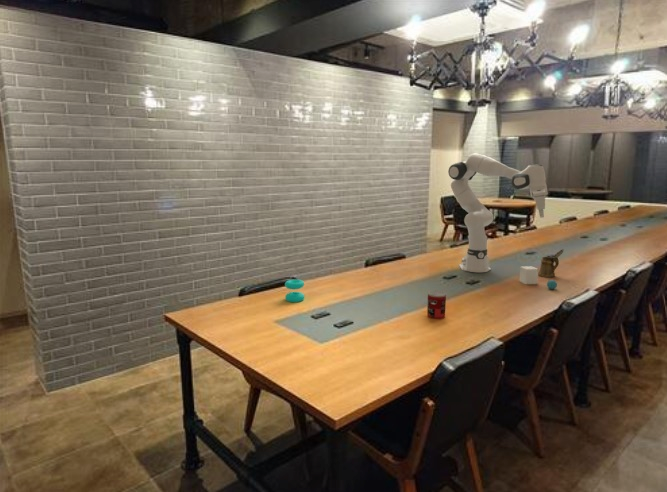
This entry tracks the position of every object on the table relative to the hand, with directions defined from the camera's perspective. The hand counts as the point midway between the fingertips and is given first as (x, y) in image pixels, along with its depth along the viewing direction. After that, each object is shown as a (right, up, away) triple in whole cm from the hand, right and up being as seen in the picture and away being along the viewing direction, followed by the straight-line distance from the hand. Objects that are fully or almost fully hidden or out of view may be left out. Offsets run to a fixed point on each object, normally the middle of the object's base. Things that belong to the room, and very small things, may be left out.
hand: (541, 217), depth 248 cm
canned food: (-70, -49, -46) cm, 97 cm away
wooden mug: (+15, -35, +21) cm, 44 cm away
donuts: (-137, -44, -19) cm, 146 cm away
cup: (-4, -38, +8) cm, 39 cm away
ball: (+3, -38, -6) cm, 38 cm away
